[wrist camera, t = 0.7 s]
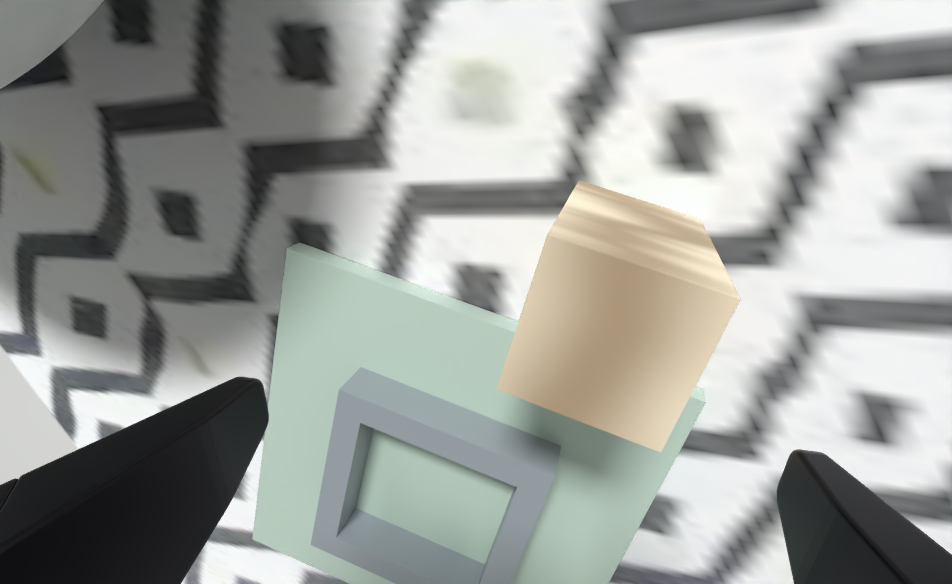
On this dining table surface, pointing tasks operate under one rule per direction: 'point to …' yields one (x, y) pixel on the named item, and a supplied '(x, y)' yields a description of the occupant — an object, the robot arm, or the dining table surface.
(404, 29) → the dining table surface
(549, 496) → the socket board
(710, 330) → the birch peg
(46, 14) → the decorative bowl
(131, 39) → the dining table surface
